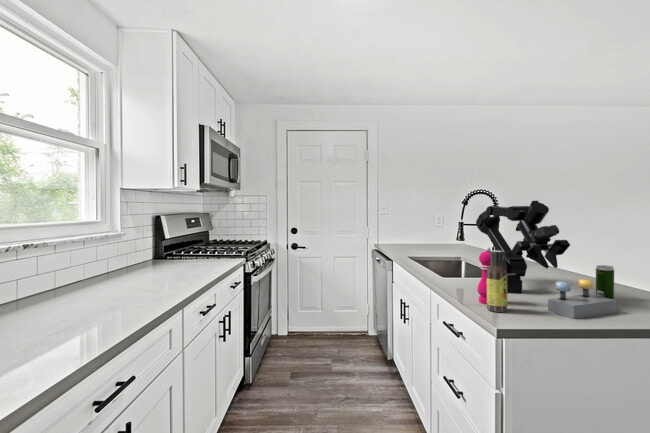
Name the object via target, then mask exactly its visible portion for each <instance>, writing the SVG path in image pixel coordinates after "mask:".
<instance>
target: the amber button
mask: <svg viewBox="0 0 650 433" xmlns="http://www.w3.org/2000/svg"><path fill="white" fill-rule="evenodd" d="M578 288H579V289H582V295H583V297H586V298H587V297H589V291H590V290H592V289H593V288H594V280H593V279H591V278H590V279H588V278H579V279H578Z"/></svg>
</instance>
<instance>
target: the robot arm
mask: <svg viewBox="0 0 650 433" xmlns="http://www.w3.org/2000/svg"><path fill="white" fill-rule="evenodd" d="M549 211H550V208H549V206H547V205H545V204H544V203H542V202H539V200H532V201H531V202H530V204H529V206H528V205H515V206H514V205H512V206H500V205H490V206H487V208H486V209H485V210H484V211H483V212H481V213H480V214H479V215H478V217H477V219H476V222H475V225H476V227H477V229H478V230H479V231H480V232H481V233H483V234H485V235H487V237H488V239H489V241H490V242H491V244H492V245H493V247H494V248H495V250H496V251H503V266H504V268H505V270H506V272H507V294H508V293H511V294H522V291H523V280H522V278H523V277H526V273H527V268H528V265H527V262H526V258H529V259H530V260H532V261H534V262H536V263H537V264H539V265H540V266H542V267H543V268H545V269H549V267H550V266H549V264H550V265H551V266H552V267H553V268H554V269H557V268H558V266H559V265H558V258H557V256H561V255H564V253H565V252H566V251H567V250H568V249H569V247H570V246H571V243H570V242H569V240H567V239H554V242H553V243H550V241H551V240H552V237H554V236H557V235H558V234H560V229H559V227H558V226H557V225H556V224H553V225H552V224H551V225H544V226H540V227H538V225H539V224H541V223H542V222H543V220H544V219H545V218H546V216H547V214H548V213H549ZM501 217H505V218H506V219H507V220H509V221H511V222H518V223H517V224H516V227H515V232H520V233H521V234H522V236H523V239H522V240H519V241H518V240H517V241H516V243H515V244H514V246H513V248H512V249H511V247H510V246H509V243H508V242H507V241H506V239H505V238H504V236H503V235H502V233H501V232H500V230H499V224H500V222H501ZM525 251H526V256H525V258H524V257H523V255H524V252H525ZM542 251H543V252H544V253H545V255H544V254H543V252H542ZM521 277H522V278H521Z"/></svg>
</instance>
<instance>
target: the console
mask: <svg viewBox="0 0 650 433" xmlns="http://www.w3.org/2000/svg"><path fill="white" fill-rule="evenodd" d="M547 311H548V312H550V313H553V314H557V315H560V316H562V317H566V318H570V319H573V320H574V319H575V320H577V319H582V318H588V317H595V316H601V315H610V314H614V313H615V314H616V313H617V300H616V299H609V298H604V297H600V296H596V294H591V293H590V294H589V297H587V298H586V297H583V294H578V295H570V296H566V300H560V297H554V298H547Z"/></svg>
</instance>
